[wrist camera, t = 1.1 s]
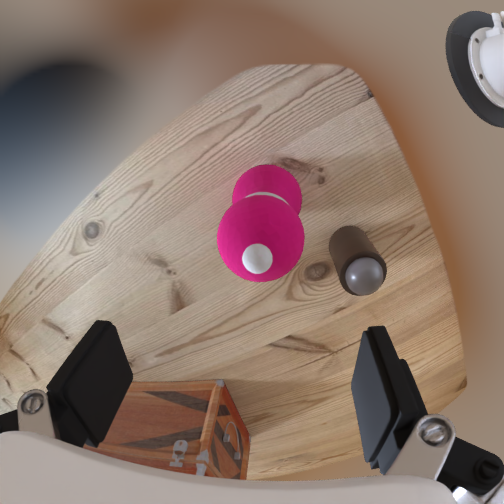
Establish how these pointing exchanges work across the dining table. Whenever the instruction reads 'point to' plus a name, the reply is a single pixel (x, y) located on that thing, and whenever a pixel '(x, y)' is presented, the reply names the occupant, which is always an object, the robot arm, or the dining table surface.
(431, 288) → the dining table surface
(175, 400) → the wooden box
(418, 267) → the dining table surface
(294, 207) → the pepper mill
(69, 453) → the robot arm
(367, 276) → the salt shaker
